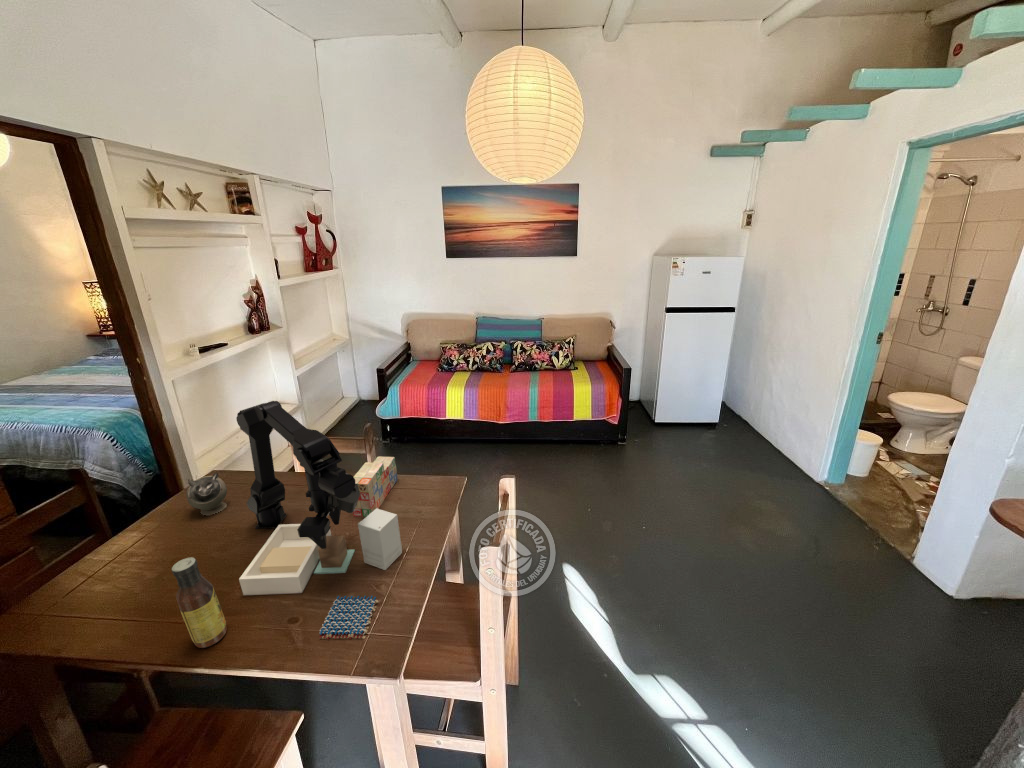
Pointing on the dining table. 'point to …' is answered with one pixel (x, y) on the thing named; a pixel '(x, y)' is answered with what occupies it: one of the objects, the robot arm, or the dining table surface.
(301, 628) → the dining table surface
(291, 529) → the crate
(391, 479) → the stack of blocks
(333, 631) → the woven mat
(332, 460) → the robot arm
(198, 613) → the sauce bottle
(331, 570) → the teal pad
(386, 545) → the supplement box
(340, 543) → the walnut block
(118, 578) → the dining table surface
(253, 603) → the dining table surface
